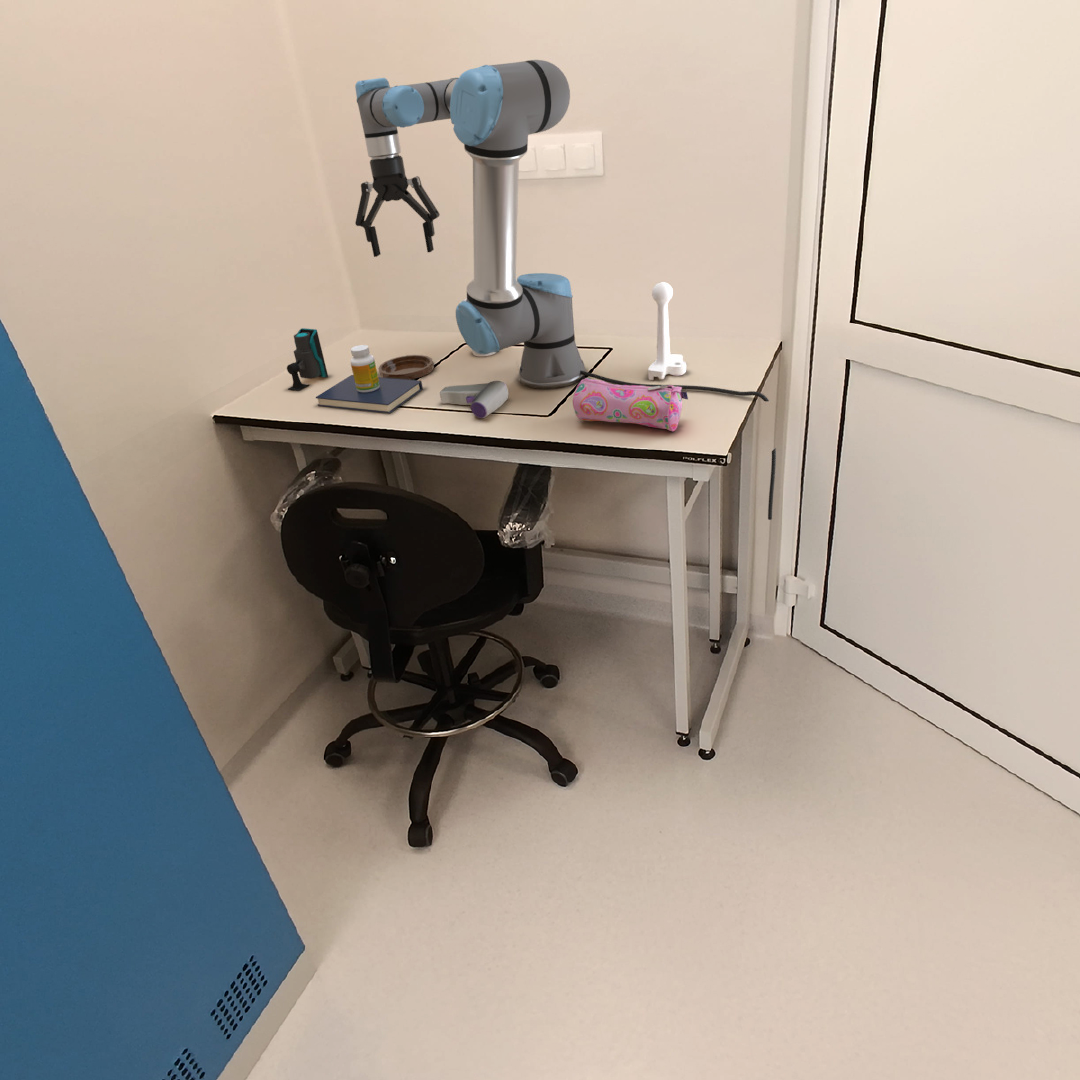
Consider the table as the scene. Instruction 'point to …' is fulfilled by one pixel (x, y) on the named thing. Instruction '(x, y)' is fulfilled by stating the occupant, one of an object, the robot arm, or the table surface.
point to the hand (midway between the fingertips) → (403, 253)
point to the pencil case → (629, 403)
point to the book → (370, 395)
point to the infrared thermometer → (477, 396)
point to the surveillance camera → (307, 358)
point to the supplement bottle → (364, 369)
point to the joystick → (664, 337)
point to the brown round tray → (406, 367)
